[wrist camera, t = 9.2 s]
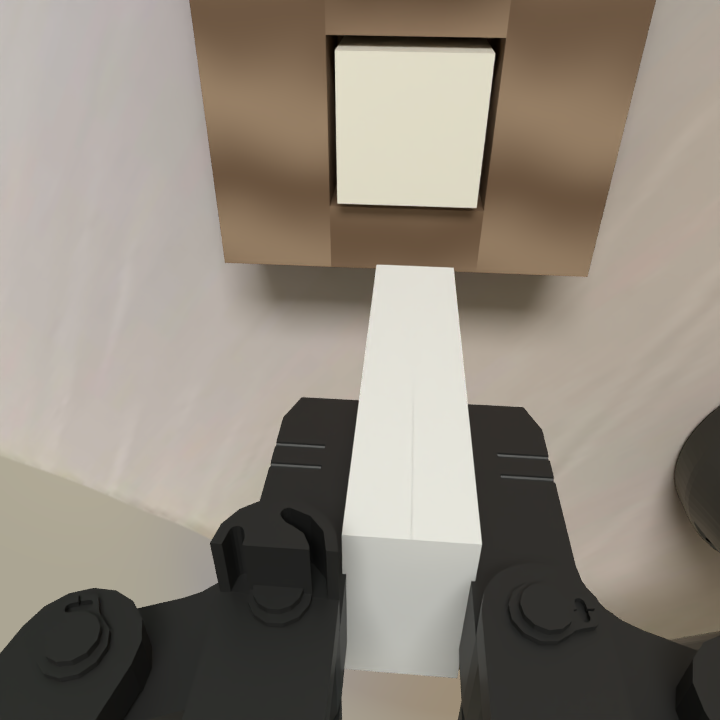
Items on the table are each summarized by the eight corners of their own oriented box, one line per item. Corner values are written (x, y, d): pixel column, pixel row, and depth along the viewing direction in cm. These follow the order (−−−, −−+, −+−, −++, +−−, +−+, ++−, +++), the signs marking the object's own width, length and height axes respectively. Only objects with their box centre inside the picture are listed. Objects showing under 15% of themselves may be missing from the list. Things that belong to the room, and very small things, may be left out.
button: (468, 171, 28) (476, 208, 24) (347, 167, 28) (337, 203, 25) (483, 34, 25) (495, 53, 21) (346, 32, 25) (334, 50, 22)
